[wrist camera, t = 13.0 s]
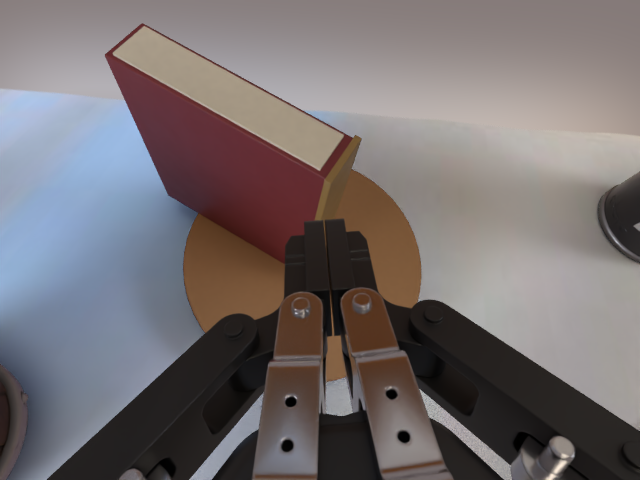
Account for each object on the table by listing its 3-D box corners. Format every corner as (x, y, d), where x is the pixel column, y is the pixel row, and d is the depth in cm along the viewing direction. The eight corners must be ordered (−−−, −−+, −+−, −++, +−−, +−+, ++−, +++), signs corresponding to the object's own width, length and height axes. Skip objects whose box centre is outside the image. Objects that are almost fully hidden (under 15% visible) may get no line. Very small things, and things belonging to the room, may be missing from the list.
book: (450, 231, 38) (567, 114, 23) (351, 436, 30) (433, 458, 15) (242, 115, 41) (227, -58, 26) (100, 278, 33) (-40, 164, 18)
